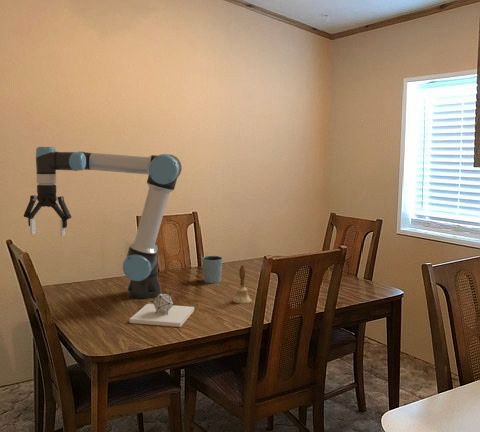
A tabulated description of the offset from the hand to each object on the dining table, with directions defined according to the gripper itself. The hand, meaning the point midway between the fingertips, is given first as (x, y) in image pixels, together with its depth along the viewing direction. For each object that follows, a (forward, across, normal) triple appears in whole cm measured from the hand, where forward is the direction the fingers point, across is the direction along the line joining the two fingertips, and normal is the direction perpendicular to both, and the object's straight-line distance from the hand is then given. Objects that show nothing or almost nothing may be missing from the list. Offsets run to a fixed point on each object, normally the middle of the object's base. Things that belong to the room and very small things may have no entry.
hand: (47, 234), depth 213 cm
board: (+29, -53, +8) cm, 61 cm away
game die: (+27, -53, +8) cm, 60 cm away
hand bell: (+29, -80, -20) cm, 87 cm away
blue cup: (+29, -60, -49) cm, 83 cm away
